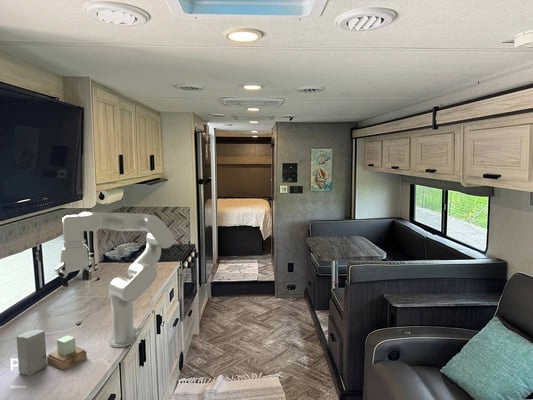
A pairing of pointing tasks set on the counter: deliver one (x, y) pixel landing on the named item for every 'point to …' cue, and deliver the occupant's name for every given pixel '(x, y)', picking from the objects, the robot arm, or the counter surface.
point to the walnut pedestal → (66, 358)
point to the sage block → (66, 345)
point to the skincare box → (31, 351)
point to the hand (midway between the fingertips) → (76, 282)
